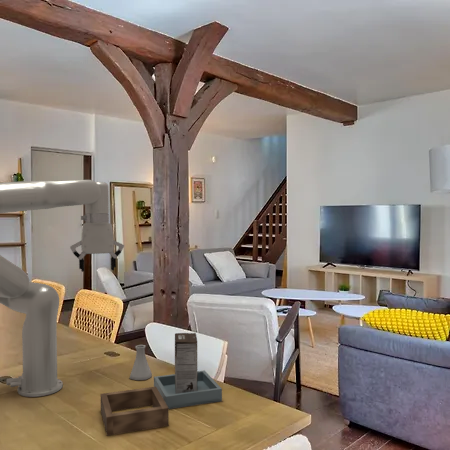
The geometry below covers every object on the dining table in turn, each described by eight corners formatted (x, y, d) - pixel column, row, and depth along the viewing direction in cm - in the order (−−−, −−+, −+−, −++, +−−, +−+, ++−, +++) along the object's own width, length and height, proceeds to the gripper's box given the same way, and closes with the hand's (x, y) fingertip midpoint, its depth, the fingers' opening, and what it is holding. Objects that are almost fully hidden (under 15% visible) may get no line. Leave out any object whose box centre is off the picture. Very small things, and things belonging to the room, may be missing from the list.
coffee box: (174, 386, 141) (174, 332, 141) (196, 385, 142) (196, 332, 141) (174, 398, 132) (174, 341, 132) (197, 397, 133) (197, 340, 132)
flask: (147, 381, 147) (147, 350, 147) (125, 380, 149) (125, 348, 148) (155, 373, 154) (155, 343, 154) (134, 372, 156) (134, 342, 155)
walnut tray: (106, 435, 112) (106, 417, 112) (100, 410, 126) (100, 393, 126) (168, 425, 117) (168, 407, 117) (156, 402, 131) (156, 386, 131)
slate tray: (165, 409, 127) (165, 396, 127) (153, 388, 142) (153, 376, 142) (221, 401, 132) (221, 388, 132) (204, 381, 147) (204, 370, 147)
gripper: (70, 219, 150) (70, 273, 151) (125, 219, 156) (125, 270, 157) (69, 219, 157) (70, 270, 158) (122, 218, 163) (122, 268, 164)
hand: (97, 270), depth 157 cm, fingers open, 9 cm apart
